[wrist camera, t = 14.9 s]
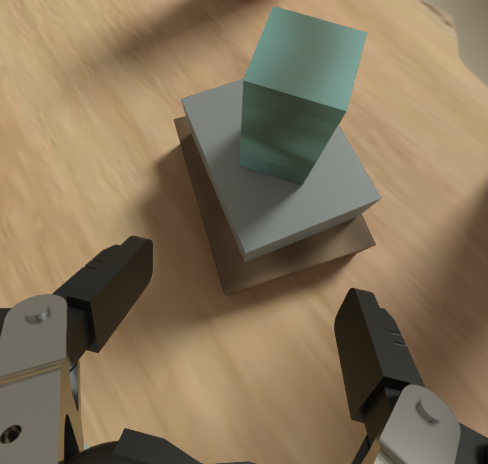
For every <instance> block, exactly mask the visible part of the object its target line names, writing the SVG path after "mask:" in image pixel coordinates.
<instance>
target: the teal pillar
mask: <svg viewBox="0 0 488 464" xmlns="http://www.w3.org/2000/svg"><path fill="white" fill-rule="evenodd" d="M366 35H367V32H363V31H359V30H356V29H352V28H349V27H345V26H342V25H338V24H335V23H331V22H328V21H324V20H321V19H317V18H314V17H310V16H307V15H303V14H300V13H296V12H293V11H289V10H286V9H282V8H279V7H275V6H273V8H272V10H271V13H270V15H269V18H268V20H267V23H266V25H265V28H264V30H263V32H262V35H261V37H260V40H259V42H258V45H257V47H256V50H255V52H254V55H253V57H252V60H251V62H250V65H249V67H248V70H247V72H246V75H245V77H244V80H243V96H242V118H241V141H240V163H239V166H242V167H245V168H248V169H251V170H254V171H257V172H261V173H264V174H267V175H270V176H273V177H277V178H280V179H283V180H286V181H289V182H293V183H296V184H299V185H303V184H304V182H305V180H306V179H307V177H308V175H309V173H310V172H311V170H312V168H313V167H314V165H315V163H316V162H317V160H318V158H319V157H320V155H321V153H322V152H323V150H324V148H325V147H326V145H327V143H328V142H329V140H330V138H331V137H332V135H333V133H334V131H335V130H336V128H337V126H338V125H339V123H340V121H341V120H342V118H343V116H344V115H345V113H346V111H347V108H348V104H349V100H350V96H351V92H352V89H353V85H354V81H355V77H356V73H357V69H358V66H359V62H360V58H361V54H362V50H363V47H364V43H365V39H366Z"/></svg>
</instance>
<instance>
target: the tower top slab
mask: <svg viewBox="0 0 488 464" xmlns="http://www.w3.org/2000/svg"><path fill="white" fill-rule="evenodd" d="M243 80H244V79H241V80H238V81H235V82H232V83H229V84H226V85H223V86H220V87H216V88H213V89H210V90H207V91H204V92H201V93H198V94H195V95H191V96H188V97H185V98H182V99H181V100H182V104H183V107H184V111H185V114H186V118H187V121H188V125H189V128H190V132H191V134H192V137H193V139H194V142H195V144H196V147H197V149H198V151H199V154H200V156H201V159H202V161H203V163H204V166H205V168H206V171H207V173H208V176H209V178H210V180H211V183H212V185H213V188H214V190H215V192H216V195H217V197H218V200H219V202H220V205H221V207H222V209H223V212H224V214H225V217H226V219H227V221H228V224H229V226H230V229H231V231H232V234H233V236H234V238H235V241H236V243H237V246H238V248H239V251H240V253H241V255H242V258H243V260H244V263H246V262H248V261H251V260H253V259H255V258H258V257H260V256H263V255H265V254H268V253H270V252H273V251H275V250H277V249H280V248H282V247H285V246H287V245H290V244H292V243H295V242H297V241H300V240H302V239H304V238H307V237H309V236H312V235H314V234H317V233H319V232H322V231H324V230H327V229H329V228H331V227H334V226H336V225H339V224H341V223H344V222H346V221H349V220H351V219H354V218H356V217H357V216H359V215H360V214H361V213H363V212H364V211H365V210H367V209H368V208H369V207H371V206H372V205H373V204H375V203H376V202H377V201H379V200H380V199H381V196H380V194H379V193H378V191H377V189H376V188H375V186H374V184H373V183H372V181H371V179H370V177H369V176H368V174H367V172H366V171H365V169H364V167H363V166H362V164H361V162H360V160H359V159H358V157H357V155H356V154H355V152H354V150H353V149H352V147H351V145H350V143H349V142H348V140H347V138H346V137H345V135H344V133H343V132H342V130H341V128H340V126H339V125H338V126H337V128H336V130H335V131H334V133H333V135H332V137H331V138H330V140H329V142H328V143H327V145H326V147H325V148H324V150H323V152H322V153H321V155H320V157H319V158H318V160H317V162H316V163H315V165H314V167H313V168H312V170H311V172H310V173H309V175H308V177H307V179H306V180H305V182H304V184H303V185H299V184H296V183H293V182H289V181H286V180H283V179H280V178H277V177H273V176H270V175H267V174H264V173H261V172H257V171H254V170H251V169H248V168H245V167H242V166H239V163H240V141H241V118H242V96H243Z"/></svg>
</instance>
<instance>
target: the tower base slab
mask: <svg viewBox="0 0 488 464" xmlns="http://www.w3.org/2000/svg"><path fill="white" fill-rule="evenodd" d="M174 123H175V126H176V130H177V133H178V136H179V140H180V143H181V147H182V150H183V154H184V157H185V160H186V164H187V167H188V171H189V174H190V177H191V181H192V184H193V188H194V191H195V195H196V198H197V201H198V205H199V208H200V212H201V215H202V219H203V222H204V225H205V229H206V232H207V236H208V239H209V243H210V246H211V249H212V253H213V256H214V260H215V263H216V267H217V270H218V273H219V277H220V280H221V284H222V287H223V291H224V294H225V295H230V294H233V293H236V292H239V291H242V290H246V289H249V288H252V287H255V286H258V285H261V284H264V283H267V282H270V281H273V280H276V279H279V278H282V277H285V276H289V275H292V274H295V273H298V272H301V271H304V270H307V269H310V268H313V267H316V266H319V265H322V264H325V263H328V262H331V261H335V260H338V259H341V258H344V257H347V256H350V255H353V254H356V253H359V252H361V251H363V250H365V249H368V248H370V247H372V246H375V245H376V244H375V242H374V239H373V237H372V235H371V233H370V231H369V229H368V226H367V224H366V222H365V220H364V218H363V216H362V213H361V214H360V215H359V216H357V217H356V218H354V219H351V220H349V221H346V222H344V223H341V224H339V225H336V226H334V227H331V228H329V229H327V230H324V231H322V232H319V233H317V234H314V235H312V236H309V237H307V238H304V239H302V240H300V241H297V242H295V243H292V244H290V245H287V246H285V247H282V248H280V249H277V250H275V251H273V252H270V253H268V254H265V255H263V256H260V257H258V258H255V259H253V260H251V261H248V262H246V263H244V260H243V258H242V255H241V253H240V251H239V248H238V246H237V243H236V241H235V238H234V236H233V234H232V231H231V229H230V226H229V224H228V221H227V219H226V217H225V214H224V212H223V209H222V207H221V205H220V202H219V200H218V197H217V195H216V192H215V190H214V188H213V185H212V183H211V180H210V178H209V176H208V173H207V171H206V168H205V166H204V163H203V161H202V159H201V156H200V154H199V151H198V149H197V147H196V144H195V142H194V139H193V137H192V134H191V132H190V128H189V125H188V121H187V118H186V116H185V117H181V118H177V119H174Z"/></svg>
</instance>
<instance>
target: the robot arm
mask: <svg viewBox="0 0 488 464" xmlns="http://www.w3.org/2000/svg"><path fill="white" fill-rule="evenodd" d="M152 271H153V243H152V240H150V239H145V238H141V237H137V236H130V237H129V238H128V239H127V240H126V241H125V242H124V243H123V244H122V245H114V246H111V247H109V248H107V249H105V250H102V251H101V252H100V253H99V254H98V255H97V256H96V257H94V258H93V260H91V261H90V262H89V263H87V264H86V265H85V267H83V268H82V269H80V270H79V271H78V272H77V273H76V274H75V275H73V276H72V277H71V278H70V279H69V280H68V281H67V282H65V283H64V284H63V285H62V286H61V287H60V288H58V289H57V290H56V291H55V292H54V293H53V294H44V295H38V296H34V297H30V298H28V299H25V300H23V301H21V302H20V303H18V304H16V305H15V306H14V307H13V308H0V464H202V463H200V462H198V461H197V460H195V459H194V458H192V457H191V456H189V455H188V454H186V453H185V452H183V451H182V450H180V449H179V448H177V447H176V446H174V445H173V444H171V443H170V442H168V441H167V440H165V439H163V438H159V437H156V436H152V435H148V434H145V433H141V432H137V431H134V430H130V429H126V428H125V429H124V431H123V433H122V435H121V437H120V439H119V441H112V442H107V443H102V444H99V445H96V446H93V447H90V448H88V449H86V450H84V440H83V431H82V423H81V394H80V361H79V359H80V357H81V356H82V355H83V354H84V352H85V351H86V350H88V351H92V352H96V353H99V352H100V350H101V349H102V348H103V346H104V345H105V343H106V342H107V341H108V339H109V338H110V336H111V335H112V334H113V332H114V331H115V330H116V328H117V327H118V325H119V324H120V323H121V321H122V320H123V319H124V317H125V316H126V314H127V313H128V312H129V310H130V309H131V307H132V306H133V305H134V303H135V302H136V301H137V299H138V298H139V296H140V295H141V294H142V292H143V291H144V289H145V288H146V287H147V285H148V284H149V282H150V279H151V276H152ZM334 331H335V337H336V342H337V347H338V353H339V358H340V363H341V369H342V374H343V379H344V384H345V390H346V395H347V400H348V406H349V411H350V416H351V420H354V421H358V422H362V423H365V427H366V431H367V432H366V434H365V435H364V436H363V438H362V440H361V441H360V443H359V445H358V447H357V449H356V451H355V453H354V455H353V456H352V458H351V460H350V462H349V464H488V438H487V437H485V436H483V435H481V434H479V433H477V432H476V431H474V430H472V429H470V428H468V427H466V426H464V425H463V424H461V423H459V422H458V420H457V418H456V416H455V414H454V413H453V411H452V410H451V409H450V407H449V406H448V405H447V404H446V403H445V402H444V401H443V400H442V399H441V398H440V397H439V396H437V395H436V394H435V393H433V392H432V391H430V390H428V389H427V388H425V385H424V383H423V381H422V379H421V377H420V374H419V372H418V370H417V368H416V366H415V364H414V361H413V359H412V357H411V355H410V353H409V350H408V348H407V347H406V346H405V342H404V340H403V337H402V336H400V334H401V333H400V331H399V329H398V326H397V324H396V322H395V320H394V319H393V318H392V317H391V316H390V315H389V314H388V312H387V311H386V310H385V309H382V308H379V305H378V303H377V300H376V298H375V296H374V294H373V293H372V292H368V291H364V290H360V289H355V288H351V289H350V290H349V291H348V293H347V295H346V297H345V299H344V301H343V303H342V305H341V307H340V309H339V311H338V313H337V315H336V318H335V323H334ZM218 464H256V463H252V462H234V463H218Z"/></svg>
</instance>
